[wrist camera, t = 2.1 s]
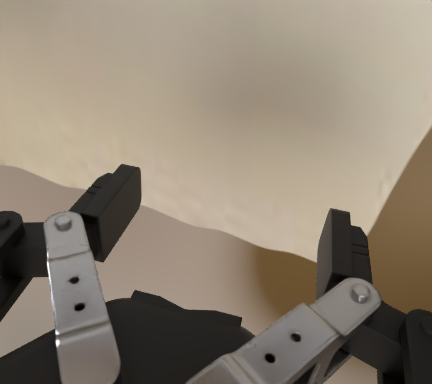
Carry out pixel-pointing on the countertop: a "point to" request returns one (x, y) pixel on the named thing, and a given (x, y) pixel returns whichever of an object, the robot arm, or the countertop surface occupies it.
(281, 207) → the countertop surface
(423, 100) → the countertop surface
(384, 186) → the countertop surface
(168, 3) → the countertop surface
